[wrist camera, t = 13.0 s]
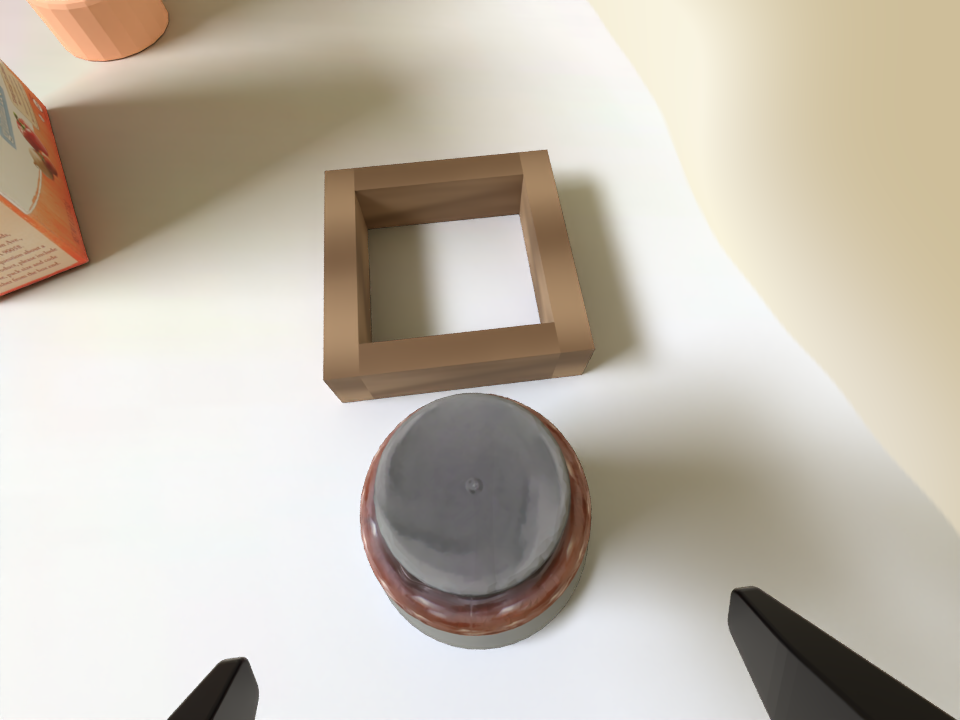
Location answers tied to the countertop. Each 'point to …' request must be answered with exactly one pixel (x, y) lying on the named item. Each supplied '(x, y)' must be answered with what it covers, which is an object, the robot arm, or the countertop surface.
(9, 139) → the cracker box
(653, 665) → the countertop surface
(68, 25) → the pepper shaker
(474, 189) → the walnut holder
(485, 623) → the supplement bottle
